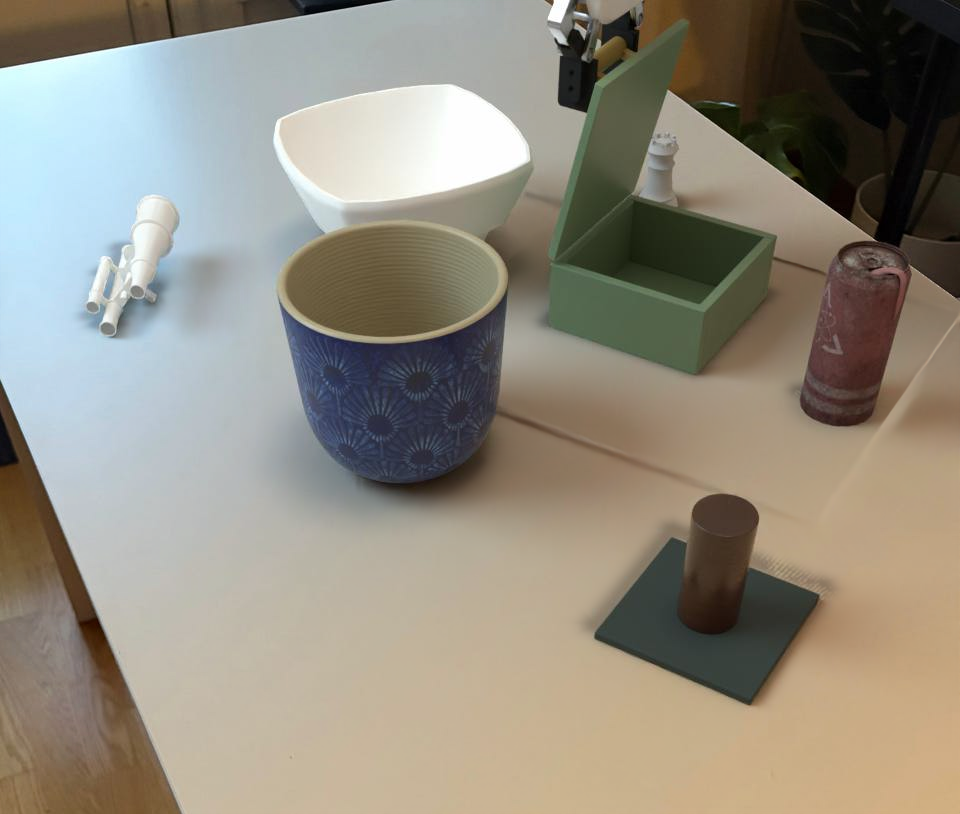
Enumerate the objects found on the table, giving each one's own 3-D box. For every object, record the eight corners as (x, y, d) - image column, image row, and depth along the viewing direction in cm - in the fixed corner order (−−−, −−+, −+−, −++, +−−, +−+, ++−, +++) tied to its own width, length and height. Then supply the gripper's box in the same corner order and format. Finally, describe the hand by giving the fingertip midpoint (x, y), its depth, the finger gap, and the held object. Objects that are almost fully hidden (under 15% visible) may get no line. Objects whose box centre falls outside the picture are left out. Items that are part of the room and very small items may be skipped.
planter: (363, 542, 93) (344, 368, 81) (267, 429, 102) (237, 258, 91) (547, 466, 99) (553, 293, 87) (440, 366, 108) (433, 198, 96)
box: (764, 305, 114) (777, 235, 108) (694, 384, 106) (704, 312, 101) (624, 263, 119) (630, 193, 114) (547, 335, 111) (550, 264, 106)
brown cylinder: (748, 605, 87) (770, 507, 80) (722, 643, 85) (742, 545, 78) (693, 583, 89) (709, 485, 82) (666, 619, 87) (680, 521, 80)
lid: (690, 21, 100) (643, -4, 101) (603, 87, 92) (553, 59, 93) (634, 191, 113) (593, 167, 114) (554, 261, 105) (510, 235, 106)
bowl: (340, 342, 111) (326, 219, 102) (266, 232, 124) (248, 114, 115) (558, 287, 116) (563, 165, 107) (465, 187, 129) (463, 71, 120)
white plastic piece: (129, 354, 113) (78, 319, 110) (150, 275, 122) (103, 241, 119) (177, 296, 109) (124, 258, 106) (194, 219, 118) (146, 182, 115)
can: (849, 445, 100) (891, 288, 89) (784, 414, 103) (817, 258, 92) (887, 412, 103) (933, 256, 92) (823, 383, 106) (860, 228, 95)
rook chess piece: (625, 220, 124) (631, 140, 118) (647, 202, 127) (654, 123, 120) (663, 232, 123) (672, 152, 116) (685, 214, 125) (694, 134, 119)
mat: (818, 600, 88) (820, 594, 88) (749, 705, 82) (751, 699, 82) (670, 542, 93) (671, 536, 92) (593, 638, 86) (594, 632, 86)
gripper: (603, -129, 81) (584, 144, 95) (716, -190, 90) (684, 67, 104) (508, -148, 84) (503, 121, 98) (627, -206, 93) (607, 47, 107)
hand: (596, 90), depth 101 cm, fingers closed on lid, 6 cm apart
